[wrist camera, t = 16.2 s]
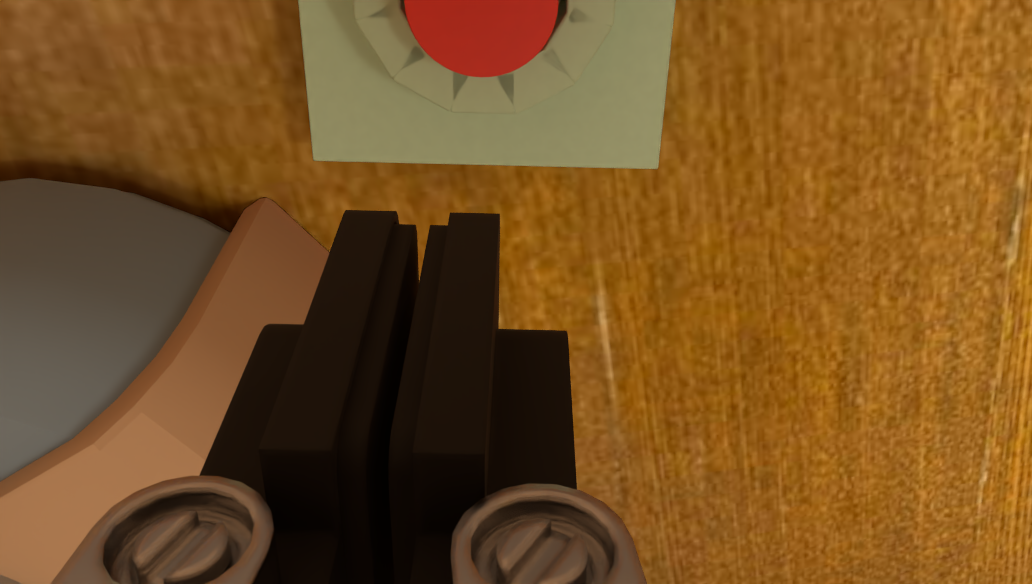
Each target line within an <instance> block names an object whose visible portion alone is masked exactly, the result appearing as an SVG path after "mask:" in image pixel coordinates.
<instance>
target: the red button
mask: <svg viewBox="0 0 1032 584" xmlns="http://www.w3.org/2000/svg"><path fill="white" fill-rule="evenodd" d="M404 5H405V12H406V17H407V21H408V23H409V26H410V29H411V31H412V33H413V35H414V37H415V39H416V40H417V42H418V43H419V45H420V46H421V47H422V49H423V50H424V51H425V52H426V53H427V54H428V55H429V56H430V57H431V58H432V59H434V60H435V61H436V62H437V63H439V64H440V65H442V66H443V67H445V68H447V69H449V70H451V71H453V72H456V73H459V74H462V75H467V76H471V77H494V76H500V75H503V74H507V73H510V72H512V71H514V70H517V69H519V68H520V67H522V66H524V65H525V64H527V63H528V62H529V61H530V60H532V59H533V58H534V57H535V56H536V55H537V54H538V53H539V52H540V51H541V50H542V48H543V47H544V45H545V44H546V43H547V41H548V39H549V37H550V35H551V34H552V31H553V28H554V26H555V23H556V19H557V14H558V5H559V2H558V0H404Z"/></svg>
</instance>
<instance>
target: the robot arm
mask: <svg viewBox="0 0 1032 584" xmlns="http://www.w3.org/2000/svg"><path fill="white" fill-rule="evenodd" d="M499 248H500V214H485V213H450V216H449V222H448V226H445V225H430V229H429V234H428V239H427V245H426V250H425V255H424V260H423V266H422V271H421V276H420V281H419V274H418V246H417V230H416V225H403V224H399V220H398V215H397V212H396V211H360V210H346V211H345V212H344V214H343V217H342V220H341V223H340V225H339V228H338V231H337V234H336V236H335V239H334V242H333V245H332V247H331V250H330V253H329V256H328V258H327V261H326V264H325V267H324V269H323V272H322V275H321V278H320V280H319V283H318V286H317V289H316V291H315V294H314V297H313V300H312V302H311V305H310V308H309V311H308V314H307V316H306V319H305V322H304V324H267V325H265V326H264V327H263V329H262V331H261V332H260V334H259V336H258V339H257V341H256V344H255V346H254V348H253V351H252V353H251V355H250V358H249V360H248V362H247V365H246V367H245V369H244V372H243V374H242V376H241V379H240V381H239V383H238V386H237V388H236V390H235V393H234V395H233V397H232V400H231V402H230V404H229V407H228V409H227V412H226V414H225V416H224V419H223V421H222V423H221V426H220V428H219V430H218V433H217V435H216V437H215V440H214V442H213V444H212V447H211V449H210V451H209V454H208V456H207V458H206V461H205V463H204V465H203V468H202V470H201V472H200V475H199V476H192V475H191V476H186V477H180V478H175V479H170V480H164V481H161V482H159V483H156V484H153V485H151V486H148V487H146V488H143V489H141V490H138V491H136V492H134V493H133V494H131V495H129V496H128V497H126V498H125V499H123V500H122V501H120V502H118V503H117V504H115V505H114V506H112V507H111V508H110V509H109V510H108V511H107V512H106V513H105V514H104V515H103V516H102V517H101V518H100V519H99V520H98V522H97V523H96V524H95V525H94V526H93V527H92V528H91V530H90V531H89V532H88V534H87V535H86V536H85V538H84V539H83V540H82V542H81V543H80V545H79V546H78V547H77V549H76V550H75V551H74V553H73V554H72V555H71V557H70V558H69V559H68V561H67V562H66V563H65V565H64V566H63V568H62V569H61V570H60V572H59V573H58V574H57V576H56V577H55V578H54V580H53V581H52V582H51V584H647V582H646V579H645V576H644V573H643V570H642V567H641V564H640V561H639V557H638V554H637V551H636V548H635V545H634V542H633V539H632V537H631V535H630V533H629V531H628V530H627V528H626V526H625V524H624V522H623V520H622V519H621V518H620V517H619V516H618V515H617V514H616V513H615V512H614V511H613V510H612V509H610V508H609V507H608V506H607V505H606V504H605V503H604V502H602V501H600V500H598V499H596V498H594V497H592V496H590V495H589V494H587V493H585V492H583V491H580V490H577V483H576V466H575V449H574V432H573V415H572V398H571V381H570V364H569V347H568V335H567V331H556V330H515V329H498V322H499Z"/></svg>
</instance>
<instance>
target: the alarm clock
mask: <svg viewBox="0 0 1032 584" xmlns="http://www.w3.org/2000/svg"><path fill="white" fill-rule="evenodd" d="M328 256H329V252H328V251H327V250H326V249H325V248H324V247H323V246H321V245H320V244H319V243H318V242H317V241H316V240H315V239H314V238H313V237H312V236H311V235H309V234H308V233H307V232H306V231H305V230H304V229H303V228H302V227H301V226H300V225H299V224H297V223H296V222H295V221H294V220H293V219H292V218H291V217H290V216H289V215H288V214H287V213H286V212H284V211H283V210H282V209H281V208H280V207H279V206H278V205H277V204H276V203H275V202H274V201H272V200H270V199H268V198H262V199H259V200H258V201H256V202H255V203H253V204H252V205H250V206H249V207H247V208H246V209H244V211H243V213H242V214H241V216H240V218H239V220H238V221H237V223H236V225H235V227H234V229H233V230H232V232H231V233H230V232H228V231H226V230H224V229H222V228H221V227H219V226H217V225H215V224H213V223H211V222H209V221H207V220H206V219H204V218H201V217H198V216H195V215H193V214H190V213H187V212H184V211H182V210H179V209H176V208H174V207H171V206H168V205H165V204H163V203H160V202H157V201H154V200H152V199H149V198H146V197H143V196H141V195H138V194H135V193H129V192H123V191H120V190H117V189H112V188H104V187H96V186H89V185H81V184H73V183H66V182H58V181H50V180H42V179H35V178H26V179H17V180H8V181H0V584H51V582H52V581H53V580H54V578H55V577H56V576H57V574H58V573H59V572H60V570H61V569H62V568H63V566H64V565H65V563H66V562H67V561H68V559H69V558H70V557H71V555H72V554H73V553H74V551H75V550H76V549H77V547H78V546H79V545H80V543H81V542H82V540H83V539H84V538H85V536H86V535H87V534H88V532H89V531H90V530H91V528H92V527H93V526H94V525H95V524H96V523H97V522H98V520H99V519H100V518H101V517H102V516H103V515H104V514H105V513H106V512H107V511H108V510H109V509H110V508H111V507H112V506H114V505H115V504H117V503H118V502H120V501H122V500H123V499H125V498H126V497H128V496H129V495H131V494H133V493H134V492H136V491H138V490H141V489H143V488H146V487H148V486H151V485H153V484H156V483H159V482H161V481H164V480H170V479H175V478H180V477H186V476H191V475H192V476H199V475H200V472H201V470H202V468H203V465H204V463H205V461H206V458H207V456H208V454H209V451H210V449H211V447H212V444H213V442H214V440H215V437H216V435H217V433H218V430H219V428H220V426H221V423H222V421H223V419H224V416H225V414H226V412H227V409H228V407H229V404H230V402H231V400H232V397H233V395H234V393H235V390H236V388H237V386H238V383H239V381H240V379H241V376H242V374H243V372H244V369H245V367H246V365H247V362H248V360H249V358H250V355H251V353H252V351H253V348H254V346H255V344H256V341H257V339H258V336H259V334H260V332H261V331H262V329H263V327H264V326H265V325H267V324H304V322H305V319H306V316H307V314H308V311H309V308H310V305H311V302H312V300H313V297H314V294H315V291H316V289H317V286H318V283H319V280H320V278H321V275H322V272H323V269H324V267H325V264H326V261H327V258H328Z"/></svg>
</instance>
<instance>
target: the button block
mask: <svg viewBox="0 0 1032 584" xmlns="http://www.w3.org/2000/svg"><path fill="white" fill-rule="evenodd" d="M558 2H559V5H558V14H557V19H556V23H555V26H554V28H553V31H552V34H551V35H550V37H549V39H548V41H547V43H546V44H545V45H544V47H543V48H542V50H541V51H540V52H539V53H538V54H537V55H536V56H535V57H534V58H533V59H532V60H530V61H529V62H528V63H527V64H525V65H524V66H522V67H520V68H519V69H517V70H514V71H512V72H510V73H507V74H503V75H500V76H494V77H471V76H467V75H462V74H459V73H456V72H453V71H451V70H449V69H447V68H445V67H443V66H442V65H440V64H439V63H437V62H436V61H435V60H434V59H432V58H431V57H430V56H429V55H428V54H427V53H426V52H425V51H424V50H423V49H422V47H421V46H420V45H419V43H418V42H417V40H416V39H415V37H414V35H413V33H412V31H411V29H410V26H409V23H408V21H407V17H406V12H405V5H404V0H298V5H299V16H300V26H301V37H302V47H303V58H304V69H305V79H306V90H307V100H308V111H309V121H310V132H311V143H312V153H313V160H314V161H343V162H384V163H426V164H467V165H509V166H550V167H592V168H633V169H658V164H659V155H660V145H661V135H662V126H663V116H664V107H665V97H666V88H667V78H668V68H669V59H670V49H671V40H672V30H673V21H674V11H675V2H676V0H558Z"/></svg>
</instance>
